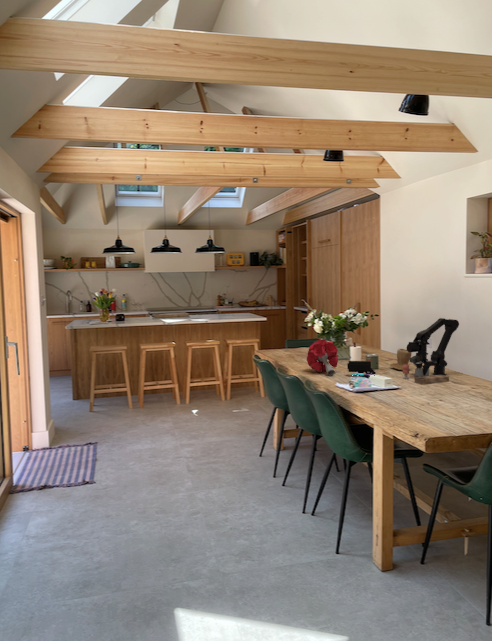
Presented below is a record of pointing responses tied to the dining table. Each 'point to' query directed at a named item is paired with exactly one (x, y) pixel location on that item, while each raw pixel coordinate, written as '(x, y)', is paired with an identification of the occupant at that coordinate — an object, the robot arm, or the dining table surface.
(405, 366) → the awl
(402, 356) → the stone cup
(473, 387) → the dining table surface
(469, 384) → the dining table surface
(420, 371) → the stud finder
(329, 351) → the bouquet
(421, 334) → the robot arm
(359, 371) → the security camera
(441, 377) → the beam
